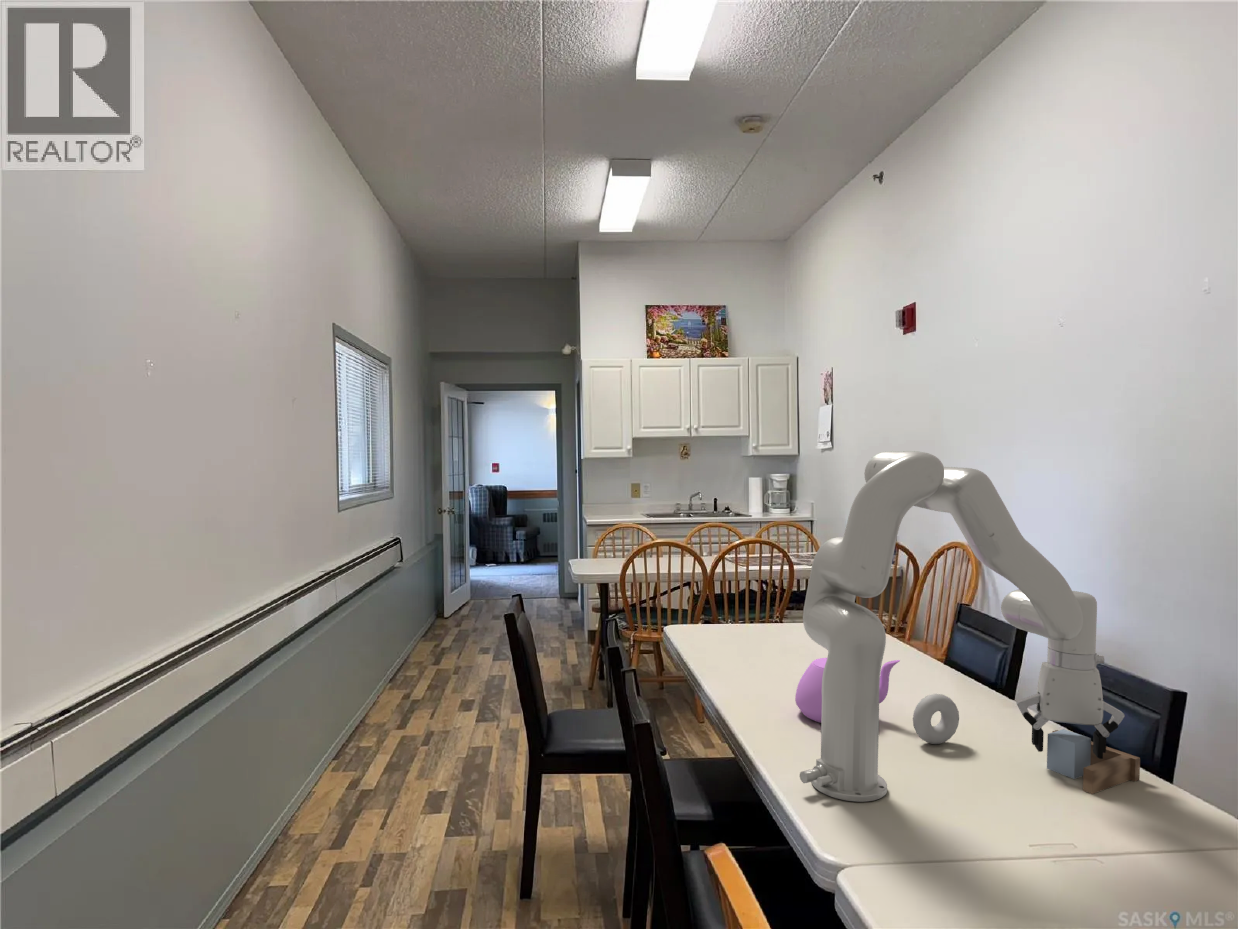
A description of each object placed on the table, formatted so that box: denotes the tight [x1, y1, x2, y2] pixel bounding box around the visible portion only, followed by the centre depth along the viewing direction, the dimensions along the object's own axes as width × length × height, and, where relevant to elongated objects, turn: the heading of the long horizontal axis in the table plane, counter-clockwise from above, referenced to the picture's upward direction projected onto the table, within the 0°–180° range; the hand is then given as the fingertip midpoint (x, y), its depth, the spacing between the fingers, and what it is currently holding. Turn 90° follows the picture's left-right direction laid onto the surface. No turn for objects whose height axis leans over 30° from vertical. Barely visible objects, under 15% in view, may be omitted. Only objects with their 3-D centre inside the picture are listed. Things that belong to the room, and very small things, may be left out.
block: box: [1046, 728, 1092, 780], centre depth 139 cm, size 5×5×6 cm
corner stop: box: [1051, 729, 1141, 795], centre depth 139 cm, size 14×15×4 cm
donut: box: [912, 693, 960, 745], centre depth 151 cm, size 10×4×10 cm, turn 105°
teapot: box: [794, 657, 901, 723], centre depth 165 cm, size 22×22×14 cm
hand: (1067, 752), depth 139 cm, fingers open, 9 cm apart
